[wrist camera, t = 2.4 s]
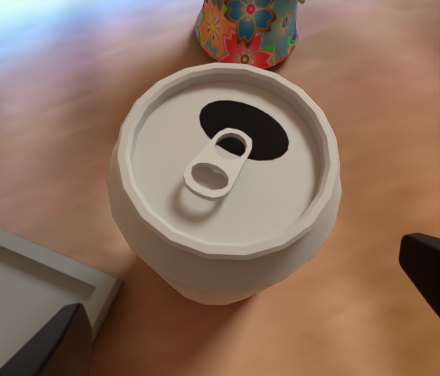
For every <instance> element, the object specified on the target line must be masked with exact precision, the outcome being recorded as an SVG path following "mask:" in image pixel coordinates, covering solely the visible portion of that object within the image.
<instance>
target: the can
mask: <svg viewBox="0 0 440 376" xmlns="http://www.w3.org/2000/svg"><path fill="white" fill-rule="evenodd" d="M339 172H340V162H339V155H338V148H337V140H336V137H335V135H334V133H333V131H332V129H331V127H330V125H329V123H328V121H327V119H326V117H325V115H324V113H323V111H322V110H321V109H320V108H319V107H318V106H317V104H316V103H315V102H314V101H313V100H312V99H311V98H310V97H309V96H308V95H307V94H306V93H305V92H304V91H303V90H302V89H301V88H299V87H298V86H296V85H294V84H293V83H291V82H289V81H288V80H286V79H284V78H283V77H281V76H280V75H278V74H276V73H274V72H270V71H267V70H264V69H260V68H257V67H254V66H251V65H247V64H235V63H217V62H215V63H210V64H205V65H199V66H194V67H189V68H185V69H183V70H180V71H178V72H176V73H174V74H172V75H170V76H168V77H166V78H164V79H162V80H159V81H158V82H157V83H155V84H154V85H153V86H152V87H151V88H150V89H149V90H148V91H146V92H145V93H144V94H143V95H142V96H141V97H140V98H139V99H137V100H136V101H135V103H134V105H133V106H132V108H131V110H130V112H129V113H128V115H127V117H126V118H125V120H124V122H123V123H122V125H121V127H120V131H119V137H118V141H117V143H116V144H115V146H114V148H113V151H112V156H111V161H110V167H109V172H108V177H107V187H108V193H109V199H110V205H111V211H112V217H113V218H114V220H115V222H116V224H117V225H118V227H119V229H120V231H121V232H122V234H123V236H124V238H125V239H126V241H127V243H128V245H129V246H130V248H131V250H133V251H134V252H135V253H136V254H137V255H138V256H139V257H140V258H141V259H142V260H143V261H144V262H146V263H147V264H148V265H149V266H150V267H151V268H152V269H153V270H154V271H155V272H156V273H157V274H158V275H160V276H161V277H162V278H163V279H164V280H165V281H166V282H167V283H168V284H169V285H171V286H172V287H173V288H174V289H175V290H176V291H178V292H179V293H180V294H181V295H182V296H184V297H185V298H188V299H191V300H193V301H196V302H198V303H201V304H203V305H227V304H231V303H234V302H237V301H240V300H244V299H246V298H248V297H250V296H252V295H254V294H256V293H258V292H260V291H262V290H264V289H266V288H268V287H270V286H272V285H274V284H276V283H278V282H280V281H282V280H284V279H285V278H287V277H288V276H289V275H291V274H292V273H293V272H295V271H296V270H297V269H299V268H300V267H301V266H303V265H304V264H305V263H307V262H308V261H309V260H311V259H312V258H313V257H315V255H316V254H317V252H318V251H319V249H320V248H321V246H322V244H323V243H324V241H325V240H326V238H327V237H328V235H329V234H330V232H331V230H332V229H333V227H334V226H335V221H336V217H337V212H338V207H339V203H340V198H341V194H342V190H341V182H340V175H339Z"/></svg>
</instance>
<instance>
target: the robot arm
mask: <svg viewBox="0 0 440 376" xmlns="http://www.w3.org/2000/svg"><path fill="white" fill-rule="evenodd" d="M399 263H400V266H401V267H402V269H403V270H404V272H405V273H406V274H407V276H408V277H409V278H410V280H411V281H412V282H413V284H414V285H415V286H416V288H417V289H418V290H419V292H420V293H421V294H422V296H423V297H424V298H425V300H426V301H427V303H428V304H429V305H430V306H431V308H432V309H433V310H434V312H435V313H436V314H437V315H438V316H439V318H440V238H436V237H433V236H429V235H425V234H422V233H412V234H407V235H404V236H403V237H402V239H401V245H400V252H399ZM91 342H92V327H91V324H90V321H89V318H88V316H87V313H86V310H85V308H84V306H83V304H82V303H74V304H69V305H65V306H64V307H62V308H61V309H60V310H59V311H58V312H57V313H56V314H55V315H54V316H53V317H52V318H51V319H50V320H49V321H48V322H47V323H46V324H45V325H44V326H43V327H42V328H41V329H40V330H39V331H38V332H37V333H36V334H35V335H34V336H33V337H32V338H31V339H30V340H29V341H28V342H27V343H26V344H25V345H24V346H22V347H21V348H20V349H19V350H18V351H17V352H16V353H15V354H14V355H13V356H12V357H11V358H10V359H9V360H8V361H7V362H6V363H5V364H4V365H3V366H2V367H1V368H0V376H88V372H89V362H90V352H91Z"/></svg>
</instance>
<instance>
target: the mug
mask: <svg viewBox="0 0 440 376" xmlns="http://www.w3.org/2000/svg"><path fill="white" fill-rule="evenodd" d="M298 1H299V2H300V3H301V4H303V3H304V2H305V0H204V4H203V7H202V9H201V11H200V13H199V15H198V17H197V21H196V35H197V38H198V41H199V43H200V45H201V47H202V48H203V49H204V50H205V51H206V53H207V54H209V55H210V56H211V57H212V58H213V59H215V60H216V61H218V62H220V63H235V64H247V65H251V66H254V67H257V68H260V69H264V68H268V67H271V66H274V65H276V64H278V63H280V62H281V61H283V60H284V59H286V58H287V57H288V56H289V55H290V54H291V52H292V51H293V50H294V48H295V46H296V44H297V41H298V25H297V21H296V10H297V3H298Z"/></svg>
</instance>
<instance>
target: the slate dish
mask: <svg viewBox="0 0 440 376" xmlns="http://www.w3.org/2000/svg"><path fill="white" fill-rule="evenodd" d="M123 282H124V281H122V280H119V279H117V278H115V277H112V276H110V275H108V274H105V273H103V272H101V271H98V270H96V269H94V268H91V267H89V266H87V265H84V264H82V263H80V262H77V261H75V260H73V259H70V258H68V257H66V256H63V255H61V254H59V253H56V252H54V251H52V250H49V249H47V248H44V247H42V246H40V245H37V244H35V243H33V242H30V241H28V240H26V239H23V238H21V237H19V236H16V235H14V234H12V233H9V232H7V231H5V230H2V229H0V368H1V367H2V366H3V365H4V364H5V363H6V362H7V361H8V360H9V359H10V358H11V357H12V356H13V355H14V354H15V353H16V352H17V351H18V350H19V349H20V348H21V347H22V346H24V345H25V344H26V343H27V342H28V341H29V340H30V339H31V338H32V337H33V336H34V335H35V334H36V333H37V332H38V331H39V330H40V329H41V328H42V327H43V326H44V325H45V324H46V323H47V322H48V321H49V320H50V319H51V318H52V317H53V316H54V315H55V314H56V313H57V312H58V311H59V310H60V309H61V308H62V307H64V306H65V305H69V304H74V303H82V304H83V306H84V308H85V310H86V313H87V316H88V318H89V321H90V324H91V327H92V342H91V346H92V344H93V342H94V340H95V338H96V336H97V334H98V332H99V330H100V328H101V326H102V324H103V322H104V320H105V318H106V316H107V314H108V312H109V310H110V308H111V306H112V304H113V302H114V300H115V298H116V296H117V294H118V292H119V290H120V288H121V286H122V284H123Z"/></svg>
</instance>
